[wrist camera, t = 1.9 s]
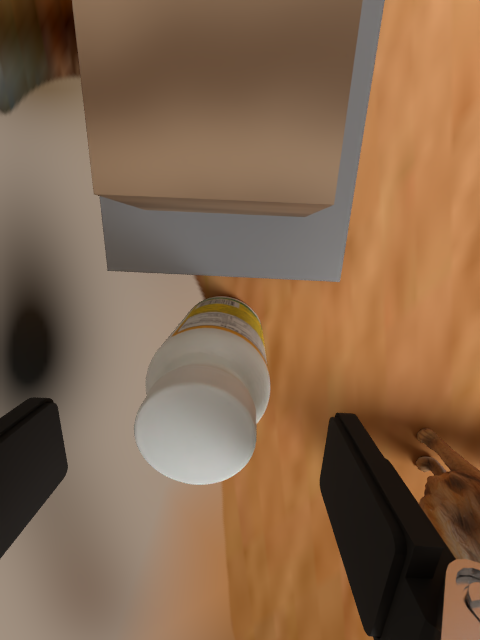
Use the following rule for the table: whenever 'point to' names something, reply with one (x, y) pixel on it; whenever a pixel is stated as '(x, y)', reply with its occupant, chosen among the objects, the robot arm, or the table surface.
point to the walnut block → (217, 101)
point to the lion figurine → (452, 497)
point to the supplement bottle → (205, 394)
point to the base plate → (253, 230)
